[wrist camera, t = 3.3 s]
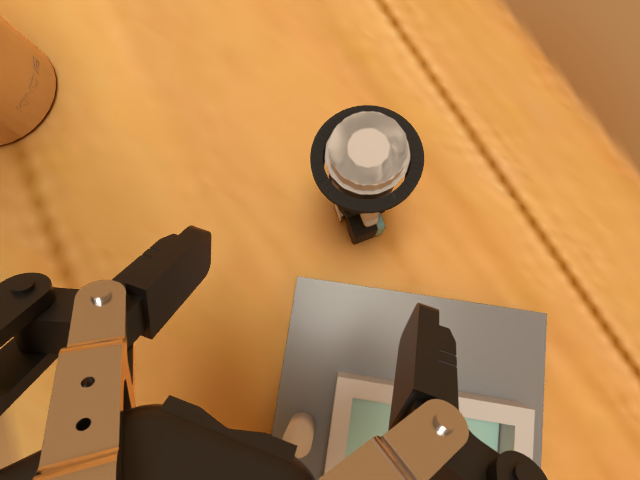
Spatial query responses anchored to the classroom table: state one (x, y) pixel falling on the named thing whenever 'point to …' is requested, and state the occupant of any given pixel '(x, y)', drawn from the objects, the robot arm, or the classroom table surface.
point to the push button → (366, 165)
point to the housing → (380, 365)
